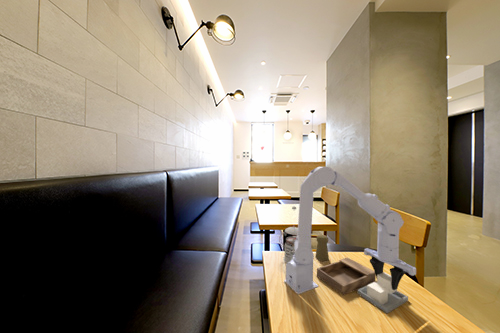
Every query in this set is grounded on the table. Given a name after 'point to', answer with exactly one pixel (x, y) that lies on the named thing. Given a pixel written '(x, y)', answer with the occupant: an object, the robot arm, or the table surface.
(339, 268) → the walnut box
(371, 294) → the cube
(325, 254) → the cork
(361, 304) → the table surface
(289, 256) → the french press
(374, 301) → the slate dish
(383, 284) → the cube
